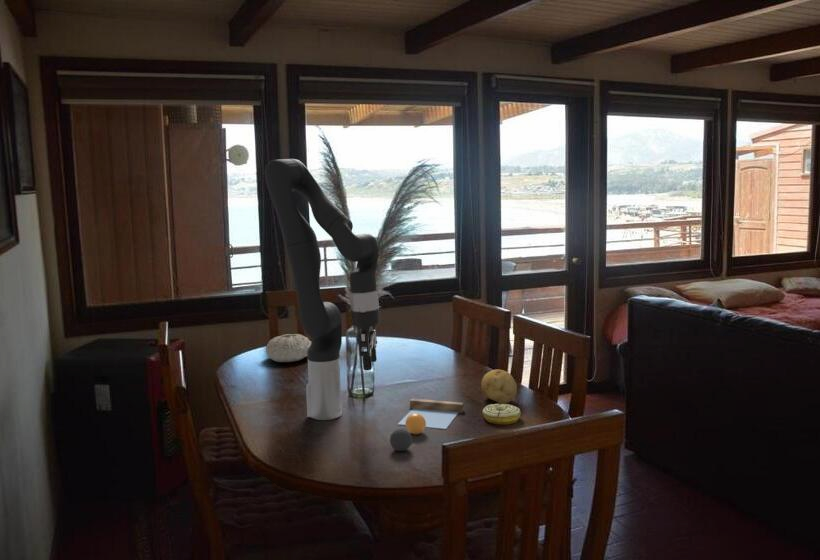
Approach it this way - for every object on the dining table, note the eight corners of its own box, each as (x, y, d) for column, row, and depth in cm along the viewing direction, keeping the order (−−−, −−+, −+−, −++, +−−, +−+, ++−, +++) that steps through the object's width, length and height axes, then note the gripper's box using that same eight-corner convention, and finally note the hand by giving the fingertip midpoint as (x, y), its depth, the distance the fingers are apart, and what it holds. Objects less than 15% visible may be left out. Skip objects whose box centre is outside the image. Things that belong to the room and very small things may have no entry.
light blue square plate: (397, 424, 187) (397, 424, 187) (413, 408, 200) (413, 408, 200) (445, 429, 182) (445, 428, 182) (458, 412, 195) (458, 412, 195)
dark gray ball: (387, 453, 167) (386, 432, 166) (394, 445, 172) (394, 424, 171) (407, 455, 165) (407, 434, 164) (414, 447, 170) (414, 426, 170)
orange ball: (402, 436, 178) (402, 416, 177) (409, 429, 183) (408, 409, 183) (422, 438, 176) (422, 418, 176) (428, 430, 182) (428, 411, 181)
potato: (503, 393, 212) (503, 363, 211) (522, 405, 200) (522, 373, 199) (474, 397, 209) (473, 366, 208) (491, 410, 197) (491, 377, 196)
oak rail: (410, 408, 200) (409, 400, 200) (412, 406, 202) (412, 398, 202) (462, 413, 195) (461, 404, 195) (463, 410, 197) (463, 402, 197)
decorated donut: (505, 411, 197) (505, 399, 196) (528, 422, 187) (528, 409, 187) (475, 417, 192) (475, 404, 191) (497, 429, 182) (497, 415, 182)
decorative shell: (261, 357, 265) (260, 333, 264) (305, 352, 273) (304, 328, 271) (272, 368, 249) (271, 342, 248) (318, 362, 257) (317, 336, 255)
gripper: (356, 304, 189) (361, 359, 191) (346, 313, 175) (352, 373, 177) (382, 302, 188) (387, 358, 190) (374, 311, 174) (380, 372, 176)
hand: (370, 365), depth 184 cm, fingers open, 8 cm apart
